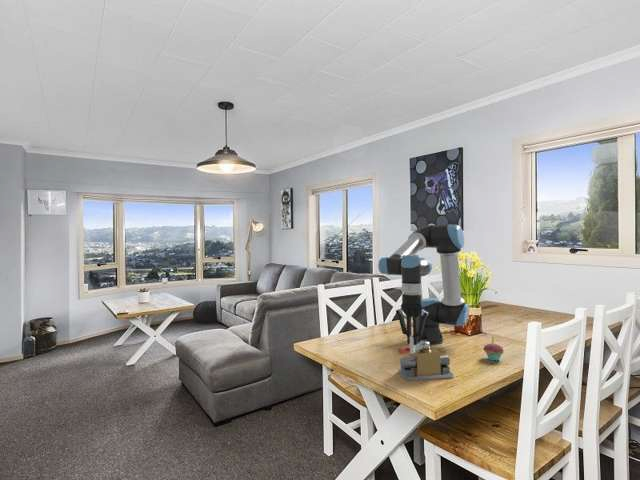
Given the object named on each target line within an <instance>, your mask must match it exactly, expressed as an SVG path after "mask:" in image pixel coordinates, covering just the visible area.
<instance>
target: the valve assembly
mask: <svg viewBox="0 0 640 480" xmlns="http://www.w3.org/2000/svg"><path fill="white" fill-rule="evenodd" d="M450 360H451V359H450V357H449V355H448V354H441V351H439V350H438V349H437V348H435V347H434V346H431V345H430V350H428V351H423V350H417V351H415V353H414V354H412V353H409V356H408V357H407V356H406V357H400V359H399V364H400V367H398V368H397V373H398V374H399V375H400V376H401V378H403V379H404V380H405V382H412V381H427V380H429V381H430V380H438V379H439V380H442V379H453V378H454V373H452V372H451V370H450V365H451V364H450V363H451V361H450Z"/></svg>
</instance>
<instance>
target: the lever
mask: <svg viewBox="0 0 640 480" xmlns="http://www.w3.org/2000/svg"><path fill="white" fill-rule="evenodd" d="M430 346H431V345H430V342H429V341H420V343H417V345H415V351H417V350H423V351H428V350H430ZM397 353H398V354H399V355H408V354H410V344H407V345H403V346H398V347H397Z"/></svg>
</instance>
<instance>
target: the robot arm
mask: <svg viewBox="0 0 640 480" xmlns="http://www.w3.org/2000/svg"><path fill="white" fill-rule="evenodd" d="M464 245H465V236H464V232H463V229H462V227H460V226H459V225H458V224H451V223H449V224H437V225H436V224H430V225H428V224H427V225H425V226H422V227H420V228H417V229H416V230H415V231H412V232H411V233H410V234H409V236H408V237H407V240H406V241H405V242H404V243H403V244H402V245H401V246H400V247H399V248H398V249H397V250H395V251H394V252H393V253H392V254H391V255H390V256H385V257H381V258H380V259H379V260H378V270H379V271H378V272H379V273H380V274H381V275H382V274H383V275H388V276H389V275H391V276H401V292H402V294H401V307H400V308H399V309H396V310H395V313H396V315H397V316H398V320H399V324H400V330H401V332H402V335H405V336H406V337H407V341H406V342H407V345H410V353H412V354H414V353H415V345H417V344H419V343H420V341H429V342H430V346H431V345H440V344H442V343H444V342H443V341H444V337H443V334H442V331H441V328H440V325H447V326H449V325H450V326H454V327H463V326H465V325H466V324H467V323H468V318H469V313H470V305H469V304H467V303H465V302H466V301H465V299H464V298H463V297H462V289H461V279H460V265H459V253H461V249H462V248H464ZM425 248H432V249H434V248H435V249H436V253H438V255H439V256H440V259H439V260H440V267H441V269H440V270H441V279H442V282H441V283H442V291H443V297H442V298H441V300H440V299H439V298H437V297H428V298H422V294H421V293H422V277H425V276H428V275H429V274H430V273H431V272H432V269H433V266H432V265H433V264H432V262H431V261H430V260H429V259H427V258H425V257H421V255H419V254H417V253H418V252H420V251H422V250H424V249H425ZM403 313H404V314H403ZM404 315H405V318H404ZM405 319H406V322H405ZM410 353H409V354H410Z"/></svg>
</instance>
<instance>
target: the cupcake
mask: <svg viewBox="0 0 640 480" xmlns="http://www.w3.org/2000/svg"><path fill="white" fill-rule="evenodd" d="M494 341H495V340H494V334H492V335H491V343H488V344H485V345H484V346H483V352H485V353H486V356H487V359H488V360H489V361H492V360H494V361H493V362H498V361H497V360H499V361H500V359H501V357H502V354H504V353H505V352H504V349H503V346H500V345H499V344H497V343H495V342H494ZM495 360H496V361H495Z"/></svg>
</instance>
